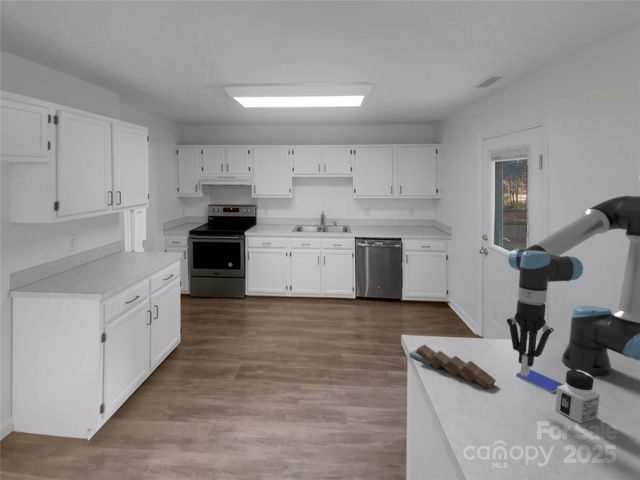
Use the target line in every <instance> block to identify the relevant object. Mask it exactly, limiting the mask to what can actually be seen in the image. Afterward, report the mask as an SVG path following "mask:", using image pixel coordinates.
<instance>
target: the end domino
mask: <svg viewBox="0 0 640 480" xmlns="http://www.w3.org/2000/svg"><path fill="white" fill-rule="evenodd" d="M416 351H417V349H416V350H413V351H411V352H409V357H410V358H413V359H414V360H416V361H419V362H421V363H423V364H427V365H429V366H433V365H432V364H431V363H429V362H428V361H427V360H425V359H424V358H423V357H421V356H420V355H419V354H417V353H416Z"/></svg>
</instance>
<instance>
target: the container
mask: <svg viewBox="0 0 640 480" xmlns="http://www.w3.org/2000/svg"><path fill="white" fill-rule="evenodd" d="M593 386H594V377H593V375H591V374H588V373H586V372H583V371H580V370H574V369H569V370H567V371H566V376H565V384H564V385H562V386H558V387H557V391H556V395H555V396H556V398H555V405H554V406H555V407H554V410H555V411H556V412H558V413H559V414H561V413H562V414H561V415H563V414H564V416H565V415H566V416H565V417H567V416H568V417H567V418H569V417H570V418H571V420H572V419H573V420H572V421H574V420H575V421H574V422H576V421H577V422H576V423H578V422H580V423H582V424H584V423H583V422H585V423H587V422H586V421H588V422H590V421H593V420H595V419H597V418H598V415H599V414H598V411H599V403H600V396H601V395H600V393H599V392H597V391H594V390H593V388H594V387H593ZM570 418H569V419H570Z"/></svg>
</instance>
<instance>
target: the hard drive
mask: <svg viewBox="0 0 640 480" xmlns="http://www.w3.org/2000/svg"><path fill="white" fill-rule="evenodd" d="M515 377H516V378H518V379H520V380H522V381H524V382H527V383H529V384H530V385H532V386H535V387H537V388H539V389H541V390H544V391H546V392H548V393H550V394H552V393H554V392H557V387H558V386H562V385H565V384H564V383H561V382H559V381H557V380H555V379H552V378H550V377H548V376H545V375H544V374H541V373H540V372H537V371H535V370H533V369H531V368H530V371H529V374H528V375H527V376H526V377H525V376H523V375H521V371H520V372H517V373H516V374H515Z"/></svg>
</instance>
